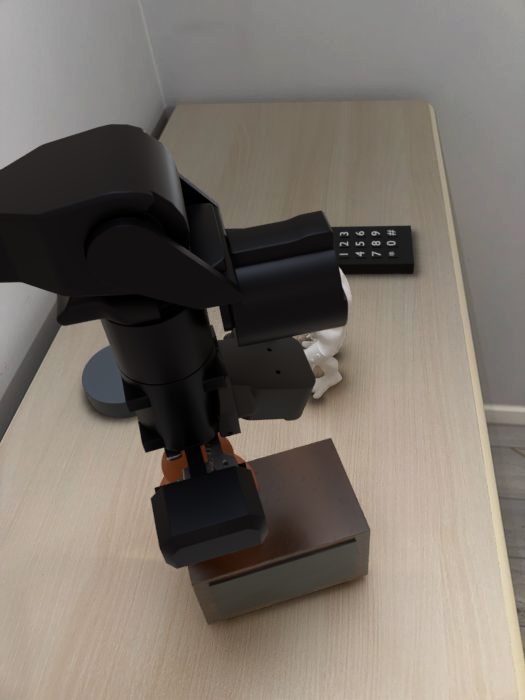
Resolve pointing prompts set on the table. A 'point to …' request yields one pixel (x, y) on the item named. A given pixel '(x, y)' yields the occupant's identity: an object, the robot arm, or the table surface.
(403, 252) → the remote control
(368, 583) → the table surface
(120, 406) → the stand
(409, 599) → the table surface
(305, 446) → the brown lidded box
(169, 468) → the orange top hat
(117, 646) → the table surface
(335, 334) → the figurine
